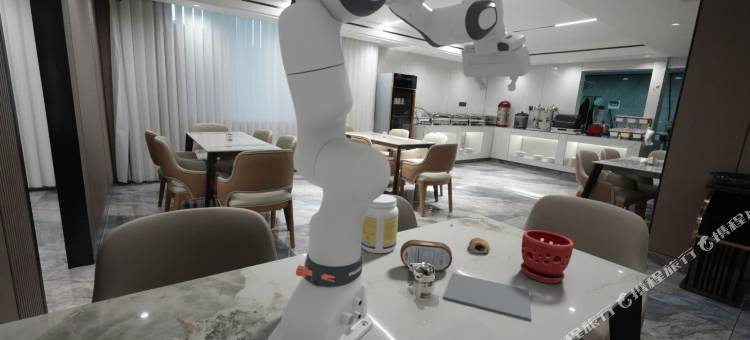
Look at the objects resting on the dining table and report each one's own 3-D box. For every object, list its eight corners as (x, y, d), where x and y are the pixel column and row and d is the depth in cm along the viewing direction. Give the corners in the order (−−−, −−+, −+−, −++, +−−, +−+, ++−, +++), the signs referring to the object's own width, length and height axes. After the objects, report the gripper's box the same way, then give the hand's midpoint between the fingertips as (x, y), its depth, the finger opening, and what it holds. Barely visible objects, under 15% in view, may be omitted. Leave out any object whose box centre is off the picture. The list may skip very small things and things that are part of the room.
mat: (531, 320, 78) (531, 318, 78) (443, 298, 85) (443, 296, 85) (528, 291, 91) (529, 290, 91) (452, 274, 98) (452, 272, 98)
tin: (450, 269, 101) (453, 242, 100) (451, 274, 98) (454, 246, 97) (399, 264, 102) (401, 237, 101) (399, 269, 99) (401, 241, 98)
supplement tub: (392, 240, 121) (396, 193, 118) (399, 254, 109) (403, 203, 106) (358, 239, 119) (360, 192, 116) (360, 254, 107) (363, 202, 104)
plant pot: (571, 290, 93) (579, 249, 90) (519, 280, 97) (525, 240, 94) (562, 270, 105) (568, 233, 103) (516, 261, 109) (521, 225, 107)
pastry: (468, 242, 124) (469, 232, 123) (488, 245, 122) (489, 235, 121) (468, 252, 115) (470, 241, 114) (489, 255, 113) (491, 244, 112)
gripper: (454, 49, 102) (462, 93, 108) (517, 43, 86) (523, 95, 92) (467, 42, 105) (474, 85, 111) (531, 35, 89) (535, 86, 95)
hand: (497, 89), depth 102 cm, fingers open, 8 cm apart
